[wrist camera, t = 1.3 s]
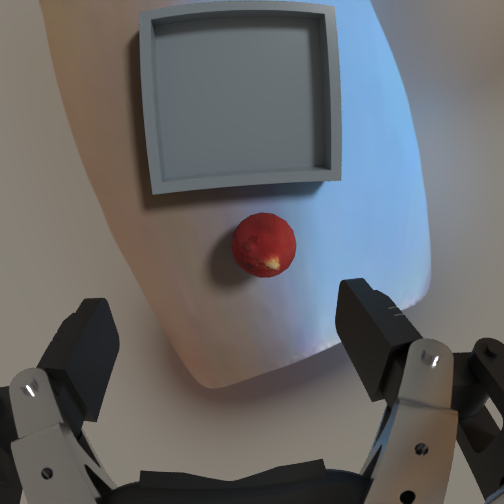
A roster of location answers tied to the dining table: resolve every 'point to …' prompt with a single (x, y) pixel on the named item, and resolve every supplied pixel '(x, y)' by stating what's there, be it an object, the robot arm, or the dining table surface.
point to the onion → (264, 245)
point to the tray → (240, 94)
